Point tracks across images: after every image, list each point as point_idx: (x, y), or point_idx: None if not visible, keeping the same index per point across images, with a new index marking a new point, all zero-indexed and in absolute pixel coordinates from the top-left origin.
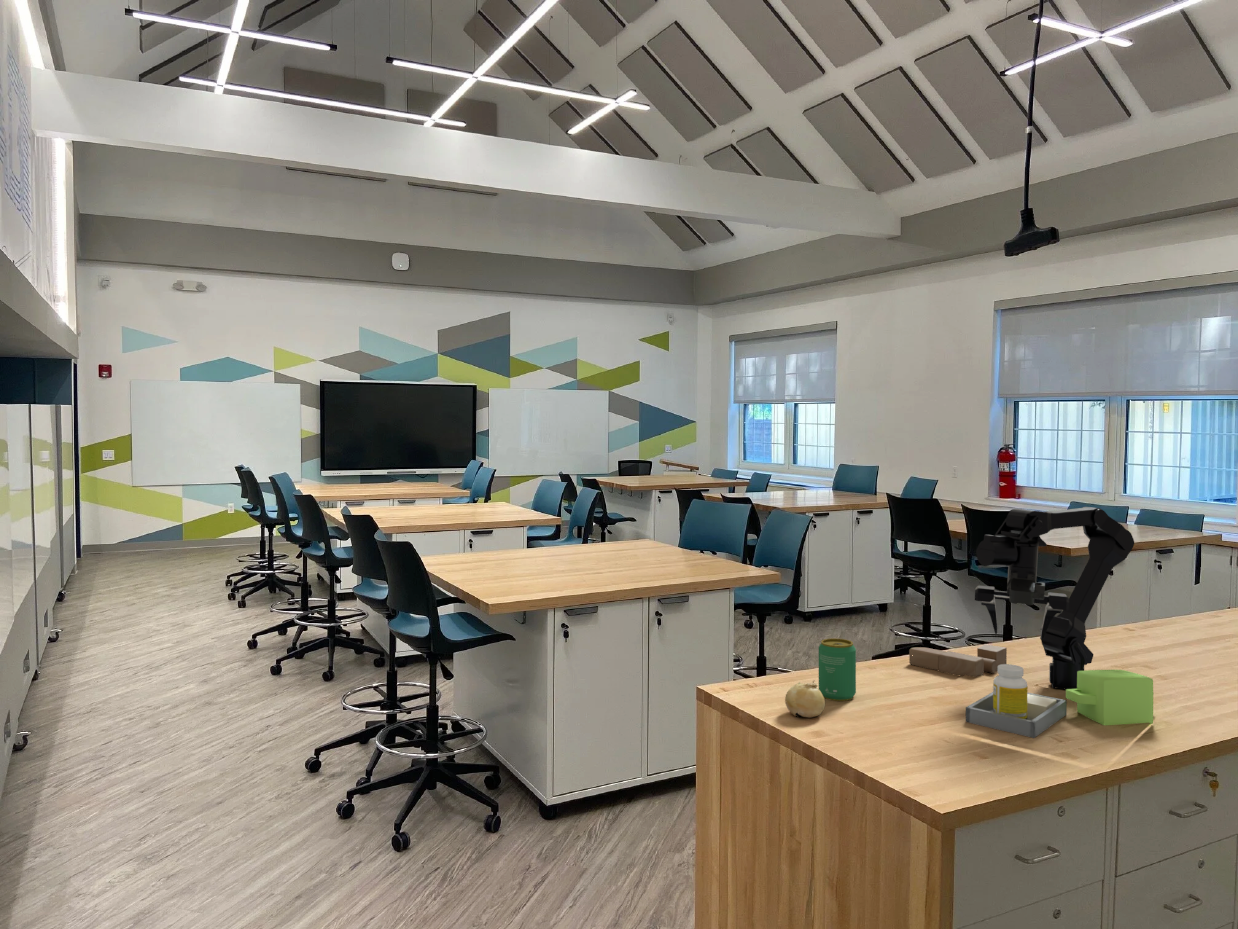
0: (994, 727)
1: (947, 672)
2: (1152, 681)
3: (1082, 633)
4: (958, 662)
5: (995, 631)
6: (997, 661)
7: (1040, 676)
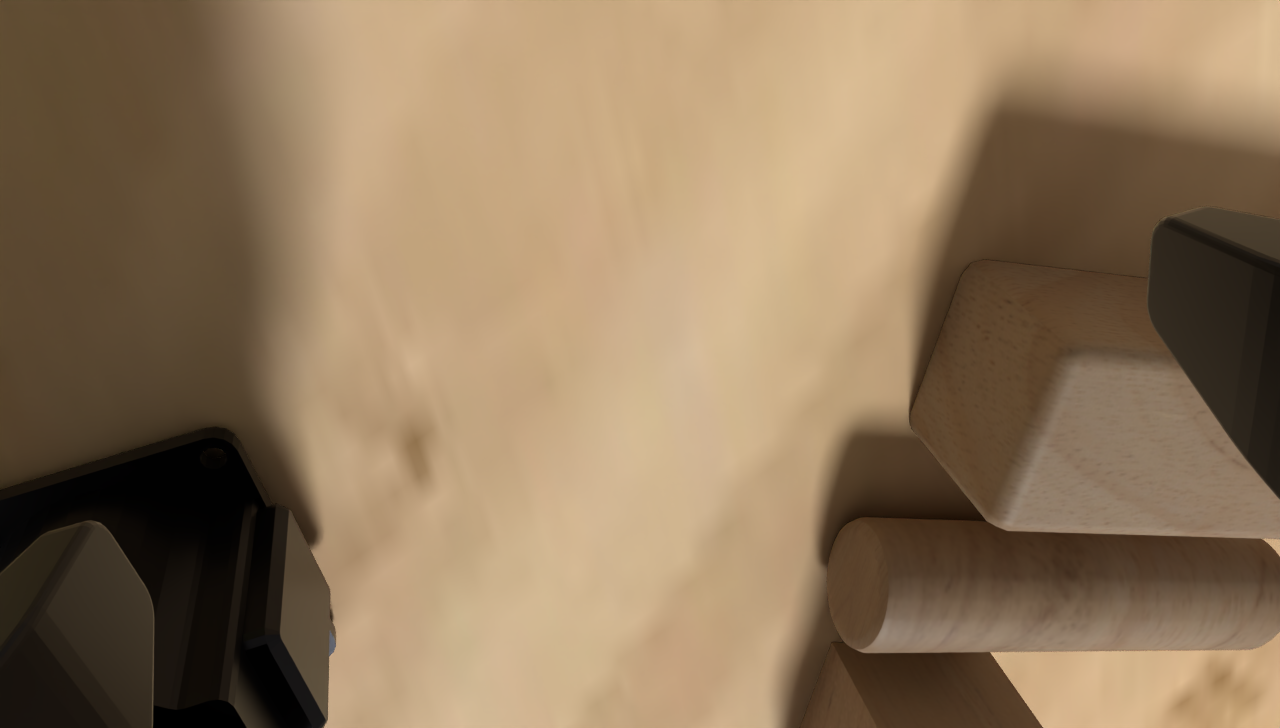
0: None
1: None
2: None
3: None
4: None
5: (1234, 218)
6: (853, 710)
7: (468, 698)
